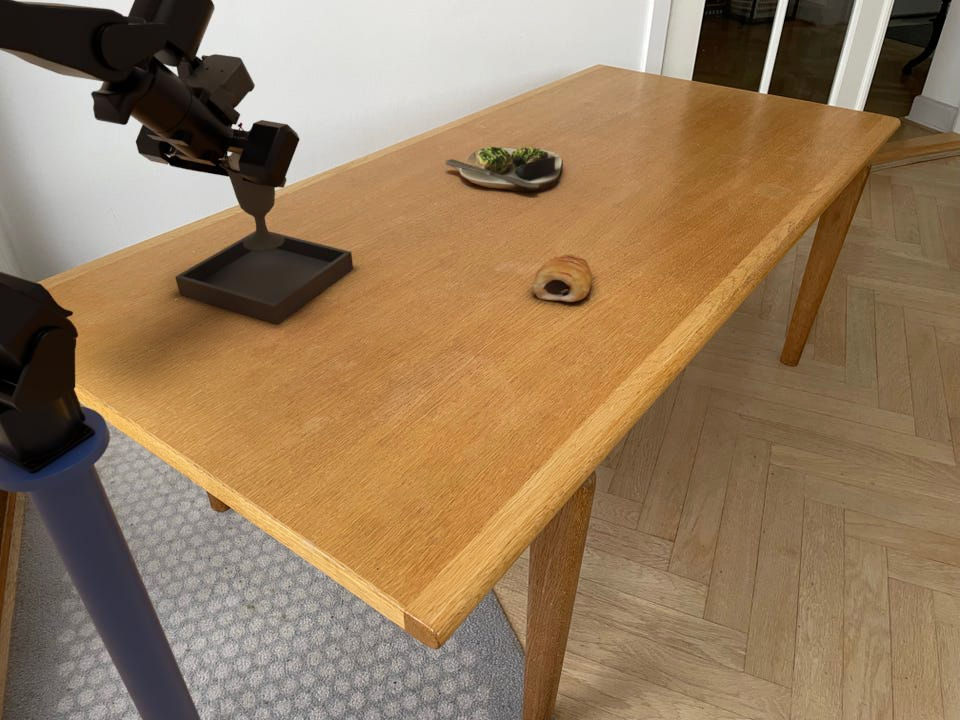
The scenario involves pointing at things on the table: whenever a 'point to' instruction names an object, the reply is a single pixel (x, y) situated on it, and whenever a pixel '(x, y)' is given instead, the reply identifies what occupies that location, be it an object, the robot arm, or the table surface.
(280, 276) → the baking tray
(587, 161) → the table surface
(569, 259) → the pastry
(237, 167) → the sundae
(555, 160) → the salad plate
